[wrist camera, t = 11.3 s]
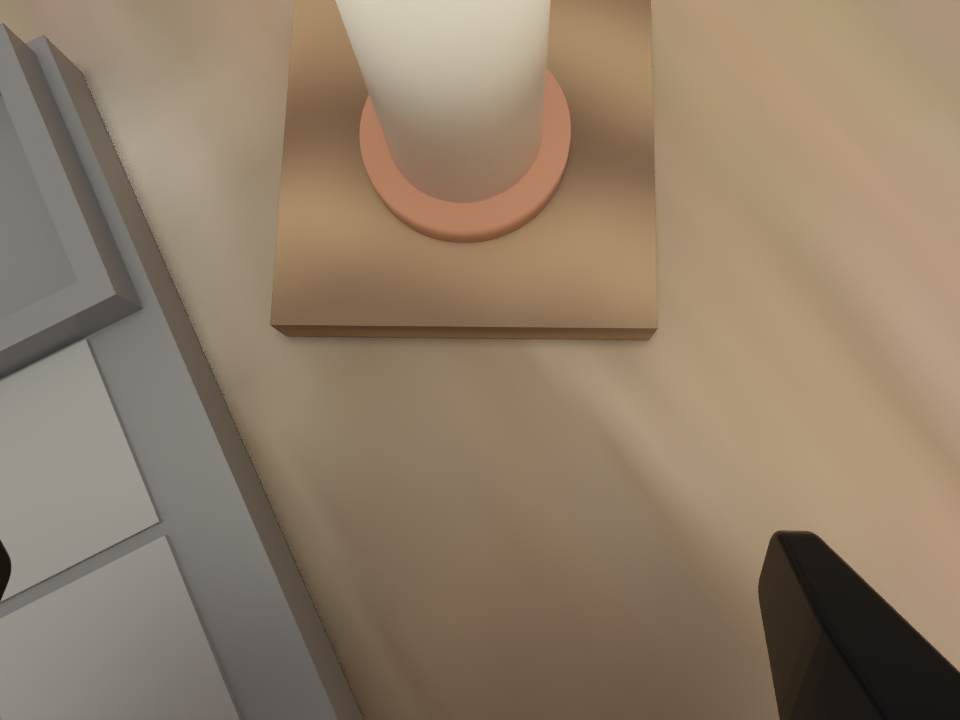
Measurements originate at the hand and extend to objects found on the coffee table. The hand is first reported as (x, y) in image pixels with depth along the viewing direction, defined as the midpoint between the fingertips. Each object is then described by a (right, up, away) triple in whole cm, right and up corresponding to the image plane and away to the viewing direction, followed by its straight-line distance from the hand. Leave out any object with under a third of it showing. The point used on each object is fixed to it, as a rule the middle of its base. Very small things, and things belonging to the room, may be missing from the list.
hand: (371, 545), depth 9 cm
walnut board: (+1, +8, +15) cm, 17 cm away
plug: (+1, +8, +14) cm, 16 cm away
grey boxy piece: (-11, -1, +14) cm, 18 cm away
